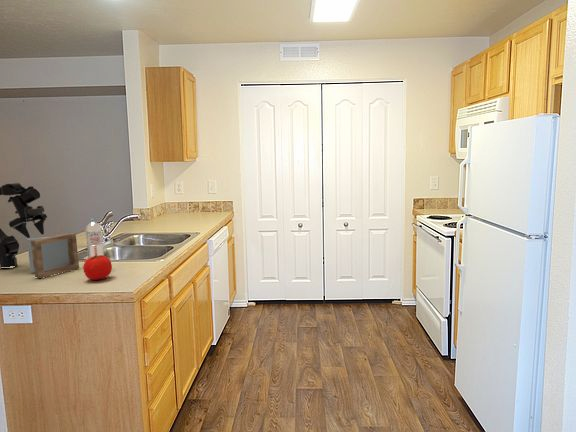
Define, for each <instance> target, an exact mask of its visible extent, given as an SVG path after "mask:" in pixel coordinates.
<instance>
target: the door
mask: <svg viewBox="0 0 576 432" xmlns="http://www.w3.org/2000/svg"><path fill="white" fill-rule="evenodd" d="M47 237H48V236H45V237H44V236H43V237H37V238H36V237H35V238H34V237H33V238H27V239H26V242H27V251H28V259H29V267H30V268H29V269H30V273H31V272H32V273H34V265H33V256H32V247H31V241H32V240H37V239H42V238H47ZM41 249H42V258H43V267H44V270H48V269H52V268H56V267H59V266H63V265H67V264H70V262H69V252H68V242H67V239H66V240H62V241H57V242H52V243H47V244H42V245H41Z"/></svg>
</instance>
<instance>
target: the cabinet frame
mask: <svg viewBox="0 0 576 432" xmlns="http://www.w3.org/2000/svg"><path fill="white" fill-rule="evenodd" d="M46 237H47V238H43V237H41V238H42V239H37V240H32V241H31V247H32V256H33V265H34V272H33V273H34V278H35V277H37V278H43V277H47V276H51V275H54V274H58V273H61V274H63V273H62V272H65V273H67V272H66V271H69V272H71V271H70V270H72V271H75V270H74V269H76V270H79V269H80V263H79V254H78V253H79V252H78V243H77V233H76V232H75V233H74V232H68V233H64V234H58V235H53V236H46ZM66 239H67V242H68V252H69V262H70V264H67V265H63V266H59V267H56V268H52V269H48V270H44V267H43V258H42V249H41V245H42V244H47V243H52V242H57V241H62V240H66ZM78 268H79V269H78ZM58 275H59V274H58ZM54 276H55V275H54ZM51 277H52V276H51ZM47 278H48V277H47ZM43 279H44V278H43Z"/></svg>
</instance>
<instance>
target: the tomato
mask: <svg viewBox="0 0 576 432" xmlns="http://www.w3.org/2000/svg"><path fill="white" fill-rule="evenodd" d="M103 255H104V254H103ZM103 255H99V256H97V254H96V255H95V256H92V257H90V258H88V257H87V259H86V260H85V261H84V263H83V265H82V266H83V273H84V275H85V276H86V278H87V279H88V280H92V281H97V280H99V281H100V280H103V279H106V278H107V277H109V275H110V274H111V273H112V270H113V265H112V262H111V260H110V259H109V257H108V256H105V255H104V256H103Z"/></svg>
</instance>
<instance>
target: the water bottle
mask: <svg viewBox="0 0 576 432" xmlns="http://www.w3.org/2000/svg"><path fill="white" fill-rule="evenodd" d="M89 221H90V222H89V223H88V224H87V225H86V227H85V236H86V248H87V250H86V251H87V259H88V258H90V257H92V256H95V255H96V254H97V256H99V255H103V256H105V255H104V246H103V245H104V243H103V236H102V234H103V233H102V226H101V225H99V223H98V222H96V219H95V218H90V220H89Z"/></svg>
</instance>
